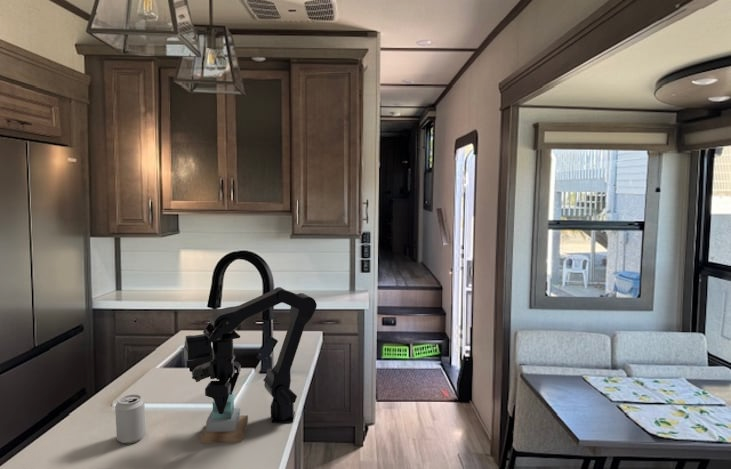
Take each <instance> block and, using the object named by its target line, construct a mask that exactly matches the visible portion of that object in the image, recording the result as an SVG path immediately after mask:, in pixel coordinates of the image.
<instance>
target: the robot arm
mask: <svg viewBox="0 0 731 469" xmlns="http://www.w3.org/2000/svg"><path fill="white" fill-rule="evenodd" d="M281 303H282V304H285V305H287V306H290V309H289V310H290V311H289V314H290V317H289V318H290V321H289V324H288V328H287V331H286V334H285V337H284V340H283V342H282V346H281V347H280V348H281V349H280V351H279V355H278V358H277V361H276V364H275V365H274V366H273V367H272V369H271V368H267V369H266V374H265V377H264V378H263V379H262V381H263V382H264V384H263V385H264V388H265V389H266V392H268V393H269V395H270V396H271V397H272V402H271V403H270V419H271V423H273V424H275V423H276V424H279V423H281V424H282V423H294V420H295V414H296V412H295V403H296V400H297V397H298V396H297V394H296V393H295V392H294V391H293V390H292V389H291V382H292V380H291V379H292V378H291V376H292V374H291V369H292V366H293V363H294V361H295V360H294V359H295V357H296V354H297V350H298V348H299V345H300V342H301V339H302V336H303V332H304V330H305V327H306V326H307V324H308V323H309V322H310V321H311V319H312V318H313V316H314V314H315V312H316V310H317V306H318V305H317V302H316V300H315V298H313V297H311V296H309V295H308V294H305V293H302V292H299V293H294V292H292V291H289V290H287V289H285V288H283V287H280V286H279V287H275V288H273V289H272V290H271V291H268V292H266V293H264V294H261V295H259V296H257V297H255V298H253V299H250V300H249V301H246V302H244V303H241V304H240V305H235V306H229V307H224V308H221V309H217V310H215V311H213V312H212V313H211V315H210V317H209V318H210V319H209V322H208V323H207V325H206V326H205V328H204V329H203V331H202V334H196V335H191V334H190V335H186V336H185V341H184V345H183V353H184V357H185V361H186V362H190V361H196V360H202V359H206V358H209V357H210V356H211V354H212V359H211V360H210V361H208V362H205V363H202V364H200V365H197V366H196V367H194V369H193V370H192V371H191V379H192V380H194V381H195V382H196V383H200V382H201V381H203V380H205V379H208V378H209V379H210V382H208V384H207V385H206V387H204V394H205V395H204V396H205V397H208V398H212V399H213V401H215V404H216V407H217V409H218V412H219V414H223V412H224V410H225V407H226V404H227V401H228V398H229V395H231V394H234V390H235V387H236V384H237V382H238V378H239V376H240V375H241V373H240V372H241V366H242V365H241V363H240V362H238V361H235V359H236V354H234V340H236V339H240V338H241V335H240V334H239V333H238V332H237V331H236V330H235V329H237V328H239V326H240V325H241V324H242V323H244V322H245V321H247V319H249V318H252V317H254V316H256V315H258V314H261V313H262V312H265V311H266V310H268V309H271V308H273V307H275V306H277V305H279V304H281ZM215 379H216V380H215Z"/></svg>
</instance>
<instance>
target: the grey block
mask: <svg viewBox="0 0 731 469" xmlns="http://www.w3.org/2000/svg"><path fill="white" fill-rule="evenodd" d="M240 416H241V408H240V407H236V408H235V407H234V412H233V415H232V417H231V419H213V409H212V410H211V412H210V414H209V416H208V417H207V419H206V420H205V421H206V422H205V427H206V432H225V431H235V430H236V427H237V425H238V422H239V420H240Z"/></svg>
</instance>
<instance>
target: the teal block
mask: <svg viewBox="0 0 731 469" xmlns="http://www.w3.org/2000/svg"><path fill="white" fill-rule="evenodd" d="M234 397H235V396H234V393H232V394H231V395H229V398H228V401H227V404H226V407H225V410H224V412H223V414H219V412H218V409H217V407H216V404H215V401H214V400H213V401H212V410H213V419H231V417H232V415H233V412H234V408H235V402H234V401H235V400H234V399H235V398H234Z"/></svg>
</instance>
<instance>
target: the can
mask: <svg viewBox="0 0 731 469" xmlns="http://www.w3.org/2000/svg"><path fill="white" fill-rule="evenodd" d="M116 402H117V403H116V404H115V406H114V409H115V410H114V412H115V425H116V426H115V427H116V440H117V441H119V442H120V443H121V444H125V445H128V444H134V443H137V442H140V441H141V440H142V439H143V438H144V437H145V436H146V433H147V430H146V428H147V427H146V409H145V406H146V404H145V400H144V399H143V398H142V395H140V394H138V393H137V394H136V393H135V394H133V393H132V394H126V395H124V396H120V398H118V399H117V401H116Z"/></svg>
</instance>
